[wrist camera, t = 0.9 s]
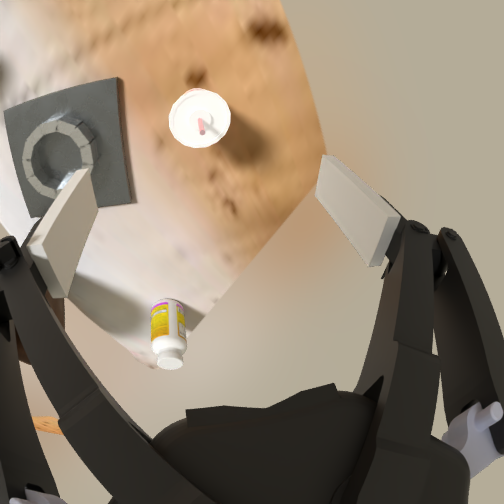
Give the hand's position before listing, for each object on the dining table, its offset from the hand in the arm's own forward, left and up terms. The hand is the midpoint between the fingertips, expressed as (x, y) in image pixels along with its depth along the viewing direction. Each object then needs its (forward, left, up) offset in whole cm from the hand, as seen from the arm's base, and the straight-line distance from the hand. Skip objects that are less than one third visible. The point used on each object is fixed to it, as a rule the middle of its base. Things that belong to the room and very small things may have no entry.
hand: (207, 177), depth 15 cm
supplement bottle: (+38, -8, -23) cm, 45 cm away
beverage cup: (0, 0, -23) cm, 23 cm away
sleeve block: (+4, -19, -23) cm, 30 cm away
